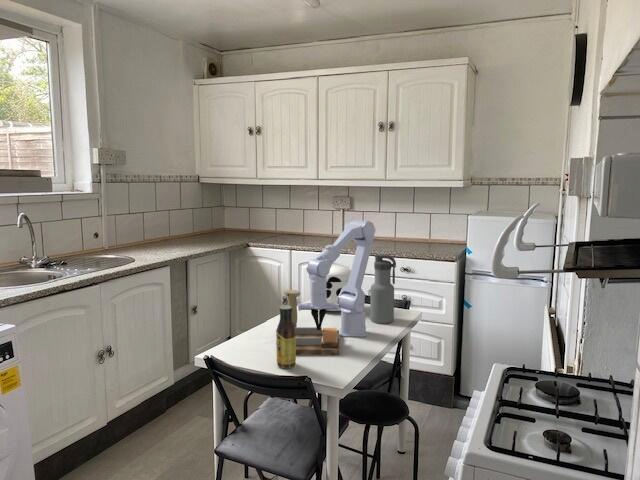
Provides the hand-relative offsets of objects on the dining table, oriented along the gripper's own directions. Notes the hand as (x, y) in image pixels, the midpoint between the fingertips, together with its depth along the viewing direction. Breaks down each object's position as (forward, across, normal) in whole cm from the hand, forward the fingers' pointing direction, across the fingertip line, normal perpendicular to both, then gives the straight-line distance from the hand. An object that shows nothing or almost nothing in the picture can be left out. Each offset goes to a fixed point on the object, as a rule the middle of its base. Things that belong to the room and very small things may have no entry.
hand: (318, 329), depth 173 cm
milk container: (+6, +6, +44) cm, 45 cm away
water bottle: (+6, +26, +28) cm, 39 cm away
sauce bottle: (+6, -10, -19) cm, 22 cm away
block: (+4, +4, 0) cm, 5 cm away
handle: (+6, -11, +18) cm, 22 cm away
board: (+6, -3, 0) cm, 7 cm away
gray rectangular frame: (+4, -6, 0) cm, 7 cm away
